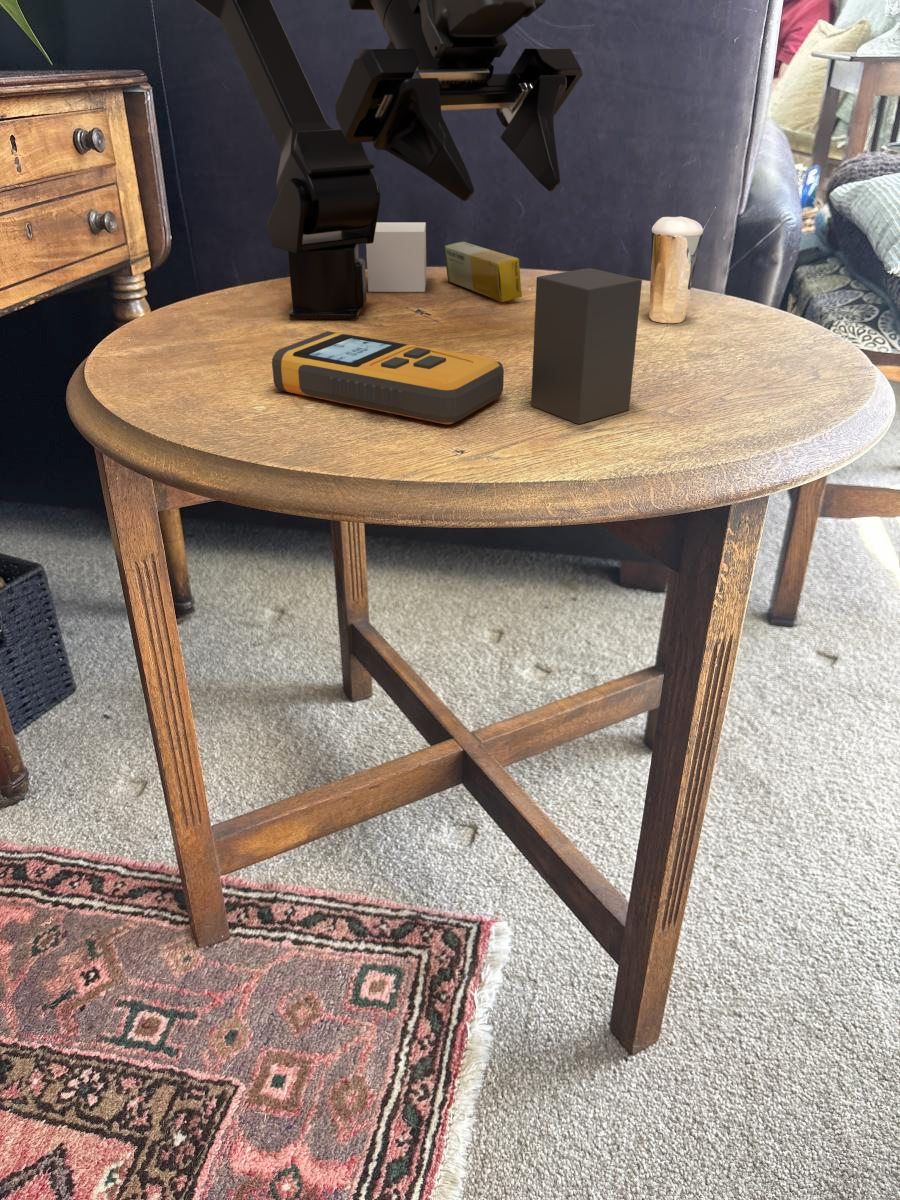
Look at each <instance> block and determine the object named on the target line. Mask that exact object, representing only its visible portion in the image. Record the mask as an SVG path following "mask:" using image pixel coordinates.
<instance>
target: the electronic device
mask: <svg viewBox="0 0 900 1200" xmlns="http://www.w3.org/2000/svg"><path fill="white" fill-rule="evenodd" d="M271 368H272V377H273V384H274V388H276V389H277V391H281V392H286V393H292V394H296V395H300V396H305V397H311V398H316V399H319V400H320V399H321V400H325V401H329V402H335V403H340V404H343V405H345V404H346V405H349V406H354V407H355V406H356V407H359V408H364V409H370V410H374V411H378V412H383V413H388V414H394V415H398V416H403V417H408V418H413V419H417V420H422V421H426V422H427V421H428V422H432V423H437V424H441V425H442V424H443V425H452V424H454V423H456V422H459V421H462V420H463V419H464V418H466V417H468V416H470V415H471V414H473V413H475V412H476V411H478V410H480V409H481V408H484V407H485V406H487V405H488V404H490V403H492V402H494V401H495V400H497V399H498V398H500V397H501V396H502V394H503V391H504V380H505V379H504V377H505V376H504V375H505V371H504V367H503V364H502V362H500V361H497V360H496V359H495V358H490V357H486V356H479V355H474V354H467V353H462V352H455V351H450V350H444V349H438V348H432V347H427V346H421V345H420V346H419V345H412V344H407V343H403V342H402V343H401V342H396V341H395V342H394V341H389V340H383V339H377V338H371V337H365V336H359V335H352V334H347V333H340V332H335V331H329V330H327V331H324V332H321V333H319V334H316V335H313V336H310V337H308V338H305V339H303V340H300V341H297V342H295V343H292V344H290V345H289V344H288V345H287V346H284V347H281V348H279V349H278V350H277V351H275V352H274V355H273V356H272V358H271Z"/></svg>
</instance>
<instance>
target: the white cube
mask: <svg viewBox="0 0 900 1200" xmlns="http://www.w3.org/2000/svg"><path fill="white" fill-rule="evenodd" d="M365 247H366V248H365V249H366V270H367V272H366V273H367V289H368V290H367V292H368V293H395V292H396V293H425V292H426V287H427V286H426V285H427V223H426V222H424V221H423V222H422V221H421V222H415V221H413V222H409V221H407V222H405V221H404V222H401V221H400V222H398V221H396V222H391V221H390V222H385V221H384V222H383V221H382V222H381V221H379V222H378V221H377V223H376V229H375V235H374V242H373V243H371V244H366V243H365Z"/></svg>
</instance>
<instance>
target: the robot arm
mask: <svg viewBox="0 0 900 1200" xmlns="http://www.w3.org/2000/svg"><path fill="white" fill-rule="evenodd" d="M193 1H194V2H195V3H196V4H198V5H199V6H201V7H202V8H203V9H204V10H205V11H207V12H208V13H210V14H211V15H213V17H215V18H217V19H218V20H219V21H220V23H221V25H222V27H223V29H224V32H225V33H226V36H227V38H228V40H229V42H230V45H231V47H232V49H233V52H234V53H235V55H236V58H237V60H238V61H239V64H240V66H241V69H242V71H243V73H244V75H245V78H246V80H247V81H248V84H249V86H250V88H251V91H252V93H253V95H254V97H255V99H256V101H257V104H258V107H259V108H260V110H261V112H262V115H263V116H264V119H265V121H266V124H267V126H268V128H269V130H270V132H271V135H272V137H273V139H274V141H275V144H276V146H277V148H278V150H279V153H280V159H279V165H278V171H277V177H276V188H277V192H278V196H277V198H276V201H275V203H274V205H273V207H272V210H271V211H270V212H271V213H270V215H269V218H268V220H267V223H266V225H267V230H268V234H269V238H270V243H271V246H272V247H274V248H277V249H279V250H283V251H285V252H287V258H288V268H289V269H288V270H289V282H290V295H291V305H292V306H291V309H290V311H289V312H288V317H289V318H290V319H327V320H328V319H333V320H334V319H335V320H337V319H345V320H346V319H347V320H350V319H352V320H353V319H358V317H359V316H360V313H361V311H362V310H363V309H364V307H365V305H366V303H367V281H366V278H367V277H366V260H365V259H364V258H360V257H359V245H363V244H365V245H366V244H371V243H373V242H374V235H375V229H376V223H377V222H378V217H379V209H380V204H381V192H380V186H379V183H378V180H377V179H376V177H375V174H374V172H373V171H372V170H373V169H374V168H375V164H374V163H373V162H372V161H371V159H369V157H368V155H367V153H366V151H365V148H364V146H363V143H371V144H372V146H373V148H374V149H375V150H377V151H386V152H387V153H389V154H391V155H392V156H394V157H396V158H397V159H399V160H401V161H402V162H404V163H406V164H407V165H409V166H411V167H413V168H414V169H416V170H417V171H419V172H420V173H422V174H423V175H425V176H427V178H429V179H431V180H432V181H433V182H435V183H437V184H438V185H440V186H441V187H442V188H444V189H445V190H446V191H448V192H450V193H451V194H452V195H454V196H455V197H456V198H458V199H460V200H461V201H463V202H467V201H470V199H471V198H472V196H473V195H474V193H475V187H474V185H473V181H472V179H471V176H470V173H469V170H468V168H467V166H466V164H465V162H464V159H463V157H462V156H461V153H460V151H459V149H458V147H457V145H456V143H455V141H454V139H453V136H452V134H451V133H450V130H449V128H448V126H447V123H446V121H445V120H444V118H443V117H444V116H443V115H442V114H443V113H442V112H443V111H446V112H447V111H463V110H464V111H467V110H468V111H469V110H486V109H496V111H495V113H496V115H497V118H498V120H499V122H500V123H501V125H502V126H503V127H505V129H504V130H503V132H502V134H501V135H500V140H501V141H502V142H503V143H504V144H505V145H506V146H507V147H508V149H509V150H510V151H511V152H512V153H513V154H514V155H515V156H516V158H517V159H518V160H519V161H520V162H521V163H522V165H523V166H524V167H525V168H526V169H527V170H528V172H529V173H530V174H531V175H532V176H533V177H534V178H535V180H536V181H537V182H538V183H539V184H540V185H541V186H542V187H544V189H546V191H548V192H554V191H555V190H556V189H557V188H558V186H559V185H560V183H561V175H560V174H561V173H560V166H559V159H558V151H557V143H556V142H557V141H556V134H555V126H554V125H555V119H554V118H555V116H556V114H557V113H558V112H559V110H560V109H561V107H562V106H563V104H564V102H565V101H566V100H567V98H568V97H569V95H570V94H571V93H572V91H573V89H574V88H575V87H576V85H577V84H578V83H579V81H580V80H581V78H582V77H583V76H584V74H583V69H582V67H581V65H580V64H579V62H578V60H577V58H576V56H575V54H574V53H573V50H572V48H570V47H569V48H564V47H563V48H562V47H559V48H558V47H557V48H553V47H551V48H549V47H548V48H547V47H546V48H544V47H543V48H538V47H537V48H535V47H533V48H531V47H530V48H529V47H528V48H527V47H526V48H524V49H523V51H522V52H521V54H520V56H519V57H518V59H517V60H516V62H515V64H514V66H513V67H512V69H511V71H510V72H508V73H494V70H495V66H494V64H493V62H494V60H495V58H501V56H502V55H503V54H504V51H505V50H506V48H507V47H508V44H509V43H508V41H507V40H506V37H505V36H504V33H506V32H507V31H509V29H511V28H512V27H513V26H514V25H516V24H517V23H518V22H519V21H520V20H522V19H523V18H529V17H530V16H532V14H533V13H534V12H536V11H537V10H538V9H539V8H541V7H542V6H543V5H544V4H545V3H546V1H547V0H348V6H349V8H350V10H352V11H375V14H376V15H377V18H378V20H379V21H380V23H381V25H382V27H383V30H384V31H385V33H386V35H387V37H388V39H389V41H388V43H387V46H386V47H385V48H359V49H358V51H357V54H356V56H355V57H354V60H353V62H352V64H351V66H350V69H349V72H348V74H347V76H346V79H345V81H344V83H343V85H342V88H341V90H340V92H339V95H338V97H337V100H336V102H335V105H334V106H335V107H334V109H335V120H336V122H337V124H338V126H339V128H336V129H333V128H332V127H331V126H330V125H329V124H328V122H327V120H326V118H325V116H324V113H323V111H322V109H321V107H320V105H319V102H318V101H317V99H316V96H315V94H314V92H313V89H312V87H311V85H310V83H309V81H308V78H307V76H306V74H305V72H304V70H303V68H302V66H301V65H302V64H301V63H300V61H299V59H298V57H297V55H296V52H295V50H294V48H293V45H292V44H291V42H290V40H289V38H288V35H287V33H286V31H285V29H284V26H283V24H282V22H281V20H280V18H279V15H278V13H277V11H276V9H275V7H274V5H273V2H272V0H193Z"/></svg>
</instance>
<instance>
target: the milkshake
mask: <svg viewBox="0 0 900 1200" xmlns="http://www.w3.org/2000/svg"><path fill="white" fill-rule="evenodd" d="M716 208H717V207H716V206H715V207H714V208H713V209H712V211H711V213H710V215H709V217H708V218H707V220H706V223H705V224H704V226H702V225H701V224H700V223H699V222H698V221H697V220H695V219H691V218H689V217H684V216H683V215H682V216H681V215H680V216H663V217H660V218H659V219H658V220H656V222H655V223H654V224H653V226H652V227H651V252H650V253H651V255H650V256H651V257H650V259H651V260H650V285H649V286H650V287H649V312H648V318H649V319H650V320H651V321H652V322H655V323H660V324H678V323H682V322H684V321H685V319H686V314H687V310H688V305H689V300H690V296H691V295H690V294H691V289H692V285H693V279H694V275H695V271H696V270H695V269H696V264H697V259H698V255H699V250H700V246H701V242H702V237H703V233H704V230H705V228H706V226H707V224H708V222H709V220H710V219H711V217H712V216H713V213H714V212H715V210H716Z"/></svg>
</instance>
